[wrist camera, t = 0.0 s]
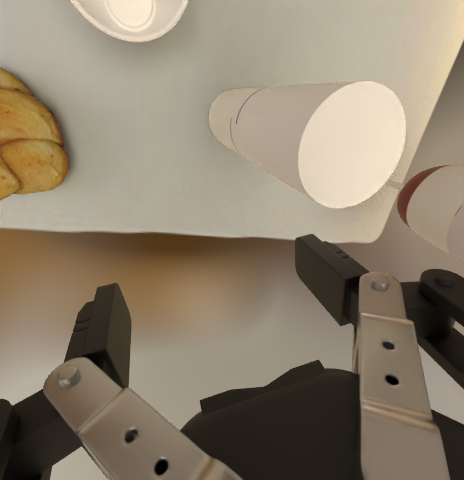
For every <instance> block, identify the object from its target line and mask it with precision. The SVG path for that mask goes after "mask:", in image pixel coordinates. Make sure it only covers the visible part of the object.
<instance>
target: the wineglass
mask: <svg viewBox="0 0 464 480" xmlns="http://www.w3.org/2000/svg"><path fill="white" fill-rule="evenodd" d="M384 185H386V186H389V187H392V188H394V189H397V190H400V191H401V192H400V194H399V197H398V201H397V209H398V212H399V215H400V217H401V219H402V220H403V221H404V222H405V223H406V224H407V225H408V226H409V227H410V228H411V229H412V230H413V231H414V232H416V233H417V234H418V235H419V236H421V237H422V238H424V239H425V240H427V241H428V242H430V243H432V244H433V245H435V246H436V247H438V248H440V249H441V250H443V251H445V252H447V253H448V254H450V255H452V256H454V257H456V258H460V259H464V166H463V165H446V166H439V167H434V168H430V169H427V170H425V171H423V172H420V173H419V174H417V175H416V176H414V177H413V178H412V179H410V180H409V181H408V182H407V183H406V184H405V185H403V184H400V183H397V182H395V181H392V180H389V179H388V180H387V181H386V182H385V184H384Z"/></svg>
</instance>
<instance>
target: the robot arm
mask: <svg viewBox="0 0 464 480" xmlns="http://www.w3.org/2000/svg"><path fill="white" fill-rule="evenodd" d="M295 267H296V271H297V274H298V276H299V278H300V279H301V280H302V282H303V283H304V284H305V285H306V286H307V287H308V289H309V290H310V291H311V292H312V293H313V294H314V296H315V297H316V298H317V299H318V300H319V302H320V303H321V304H322V305H323V306H324V307H325V308H326V310H327V311H328V312H329V313H330V314H331V316H332V317H333V318H334V319H335V320H336V321H337V323H338V324H339V325H340V326H343V325H346V324H349V323H351V324H352V325H353V326H354V329H353V349H352V372H350V371H346V370H341V369H329V368H327V369H325V368H324V367H323V365H322V364H321V362H320V361H319V360H316V361H313V362H310V363H307V364H305V365H301V366H299V367H296V368H293V369H290V370H289V371H288V372H286V373H284V374H283V375H282V376H280V377H279V378H277V379H276V380H274V381H273V382H271V383H270V384H268V385H266V386H264V387H256V388H245V389H233V390H228V391H226V392H223V393H220V394H217V395H214V396H211V397H208V398H205V399H202V400H200V404H201V410H202V411H201V412H199V413H198V414H196V415H195V416H194V417H193V418H192V419H191V420H189V421H188V422H187V423H186V425H185V426H184V427H183V428H182V429H181V430H180V431H179V430H178V429H177V428H176V427H175V426H174V425H172V424H171V423H170V422H169V421H168V420H167V419H165V418H164V417H163V416H162V415H161V414H160V413H158V412H157V411H156V410H155V409H154V408H153V407H152V406H150V405H149V404H148V403H147V402H146V401H145V400H143V399H142V398H141V397H140V396H139V395H138V394H136V393H135V392H134V391H133V390H132V389H130V388H129V387H128V386H129V364H130V343H131V318H130V313H129V310H128V307H127V305H126V302H125V300H124V297H123V295H122V292H121V290H120V287H119V285H118V284H117V283H113V284H109V285H105V286H101V287H98V288H97V291H96V295H95V299H94V301H91V302H88V303H86V304H85V305H84V306H83V308H82V309H81V310H80V312H79V313H78V316H77V319H76V322H75V323H76V325H75V326H74V329H73V333H72V336H71V340H70V343H69V347H68V350H67V354H66V357H65V360H64V363H63V364H61V365H60V366H58V367H57V368H56V369H55V370H54V371H52V373H51V374H50V375H49V376H48V378H47V379H46V381H45V383H44V386H43V389H42V390H40V391H39V392H37V393H35V394H33V395H31V396H30V397H28V398H26V399H24V400H22V401H20V402H19V403H17V404H15V405H13V406H12V405H11V404H10V402H9V401H7V400H5V399H0V480H50V475H51V469H52V466H53V465H54V464H56V463H57V462H59V461H60V460H62V459H63V458H65V457H66V456H68V455H69V454H71V453H72V452H74V451H75V450H77V449H78V448H79V447H81V446H82V447H83V448H84V450H85V451H86V452H87V453H88V455H89V456H90V457H91V458H92V460H93V461H94V462H95V464H96V465H97V466H98V467H99V469H100V470H101V471H102V473H103V474H104V475H105V476H106V478H107V479H108V480H464V425H463V424H461V423H459V422H457V421H455V420H453V419H451V418H449V417H446V416H444V415H442V414H440V413H438V412H436V411H434V410H432V409H431V408H430V403H429V398H428V393H427V388H426V383H425V378H424V373H423V368H422V363H421V357H420V353H419V347H418V344H419V345H420V346H421V347H422V348H423V349H424V350H425V351H426V352H427V353H428V354H429V355H430V356H431V357H432V358H433V359H434V360H435V361H436V362H437V363H438V364H439V365H440V366H441V367H442V368H443V369H444V370H445V371H446V372H447V373H448V374H449V375H450V376H451V377H452V378H453V379H454V380H455V381H456V382H457V383H458V384H459V385H460V386H461V387H462V388H463V389H464V336H463V335H462V334H461V333H460V332H458V331H457V330H456V329H455V328H453V326H454V323H455V321H457V322H458V323H459V324H461V325H462V326H463V327H464V278H463V277H461V276H459V275H458V274H456V273H453V272H450V271H447V270H442V269H429V270H426V271H424V272H423V273H422V274H421V278H420V281H419V282H399V281H398V280H397V279H396V278H394V277H393V276H391V275H388V274H385V273H380V272H369V271H368V270H367V269H365V268H364V267H363V266H362V265H360V264H359V263H358V262H356V261H355V260H354V259H353V258H351V257H349V255H347V254H346V253H345V252H343V251H342V250H341V249H340V248H339V247H337V246H336V245H334V244H331V243H328V242H326V241H324V242H322V241H321V240H320V239H318V238H317V237H316V236H315V235H313V234H309V235H305V236H301V237H297V238H296V240H295Z"/></svg>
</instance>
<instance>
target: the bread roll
mask: <svg viewBox="0 0 464 480" xmlns="http://www.w3.org/2000/svg"><path fill="white" fill-rule="evenodd" d="M62 147H63V138H62V134H61V131H60V128H59V126H58V122H57V120H56V118H55V116H54V114H53V113H52V111H51V110H50V109H48V108H47V107H46V106H45V105H44V104H43V103H42V102H40V101H39V100H38V99H36V98H34V96H33V95H32V94H31V92H30V91H29V90H28V88H27V87H26V86H25V85H24V84H23V83H22V82H21V81H20V80H18V79H17V78H16V77H15V76H14V75H13V74H11V73H9V72H8V71H6V70H4V69H2V68H0V200H2V199H4V198H6V197H8V196H10V195H11V194H28V193H35V192H42V191H47V190H51V189H54V188H55V187H57V186H58V185H60V184H62V182H63V181H64V179H65V177H66V174H67V172H68V169H69V161H68V156H67V153H66V152H65V151H64V149H63V148H62Z"/></svg>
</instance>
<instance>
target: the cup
mask: <svg viewBox="0 0 464 480" xmlns="http://www.w3.org/2000/svg"><path fill="white" fill-rule="evenodd" d="M70 1H71V2H72V4H73V5H74V6H75V7H76V9H77V10H78V11H79V12H80V13H81V14H82V15H83V16H84V18H86V19H87V20H88V21H89V22H90V23H92V24H93V25H94V26H95V27H96V28H98V29H99V30H101V31H103V32H105V33H106V34H108V35H110V36H112V37H115V38H118V39H120V40H123V41H130V42H146V41H151V40H154V39H157V38H159V37H161V36H163V35H164V34H166V33H167V32H169V31H170V30H171V29H172V28H173V27H174V26H175V25H176V24H177V23H178V21H179V20H180V18H181V16H182V15H183V13H184V11H185V9H186V6H187V4H188V1H189V0H70Z"/></svg>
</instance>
